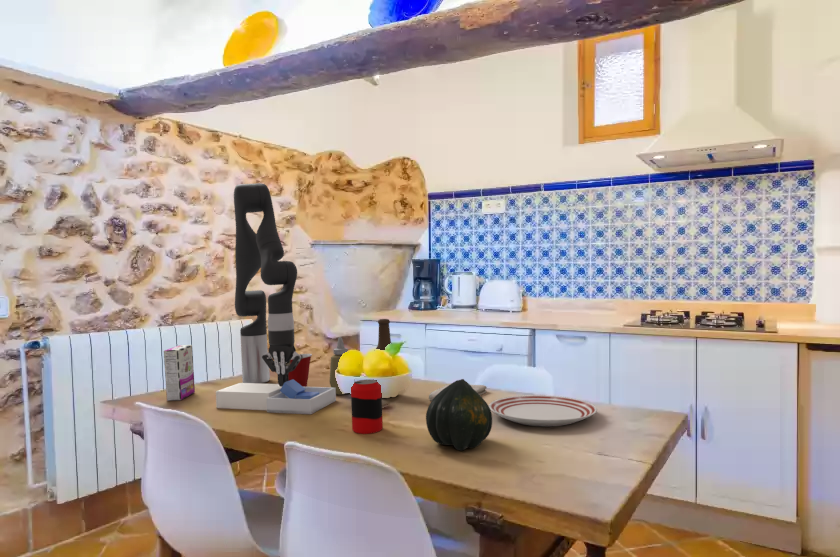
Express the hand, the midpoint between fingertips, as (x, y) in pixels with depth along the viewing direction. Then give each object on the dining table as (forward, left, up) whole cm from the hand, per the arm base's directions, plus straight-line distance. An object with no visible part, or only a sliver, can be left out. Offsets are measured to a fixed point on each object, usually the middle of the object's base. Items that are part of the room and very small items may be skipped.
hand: (283, 386), depth 170 cm
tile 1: (0, +2, -2) cm, 3 cm away
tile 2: (0, +8, -2) cm, 8 cm away
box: (0, +6, -6) cm, 8 cm away
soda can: (+19, +35, -6) cm, 40 cm away
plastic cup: (-19, -6, -6) cm, 21 cm away
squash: (+26, +60, -6) cm, 65 cm away
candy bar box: (-5, -41, -6) cm, 42 cm away
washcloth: (-19, +49, -7) cm, 53 cm away
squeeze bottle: (-18, +11, -6) cm, 22 cm away
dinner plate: (0, +76, -6) cm, 76 cm away
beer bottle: (-16, +27, -6) cm, 32 cm away
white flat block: (0, -10, -6) cm, 12 cm away
